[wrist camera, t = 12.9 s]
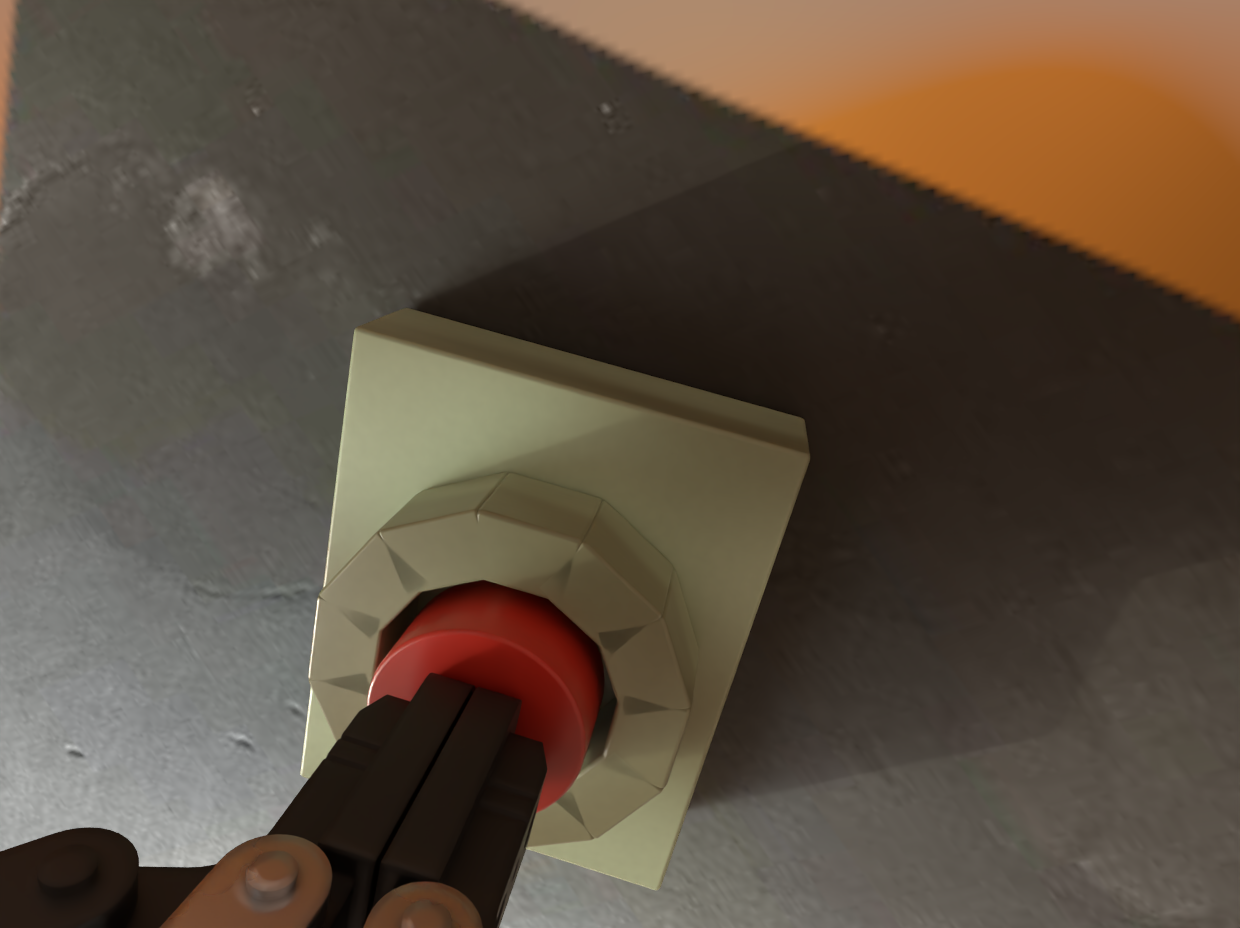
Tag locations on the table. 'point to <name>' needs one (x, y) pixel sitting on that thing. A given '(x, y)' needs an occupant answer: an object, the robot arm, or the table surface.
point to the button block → (558, 548)
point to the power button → (507, 667)
